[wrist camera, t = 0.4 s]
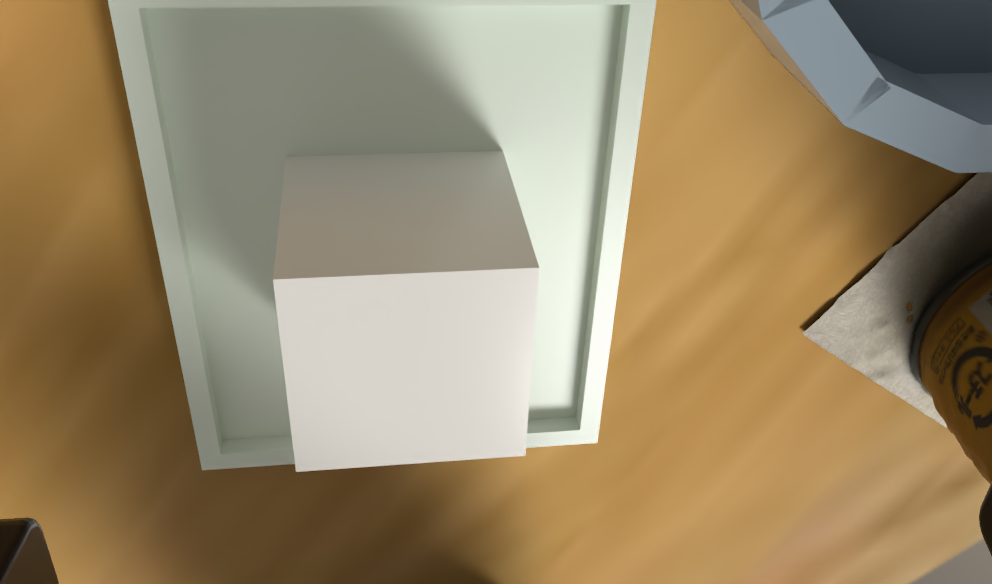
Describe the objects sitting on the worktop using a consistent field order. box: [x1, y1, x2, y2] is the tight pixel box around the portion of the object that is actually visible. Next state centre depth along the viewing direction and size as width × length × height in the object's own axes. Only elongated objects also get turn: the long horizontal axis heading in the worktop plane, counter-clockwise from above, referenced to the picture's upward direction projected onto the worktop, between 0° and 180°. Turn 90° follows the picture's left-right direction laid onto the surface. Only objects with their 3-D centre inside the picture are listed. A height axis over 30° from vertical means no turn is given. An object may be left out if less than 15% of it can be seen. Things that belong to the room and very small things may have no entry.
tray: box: [108, 0, 656, 470], centre depth 21 cm, size 12×10×1 cm
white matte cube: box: [273, 151, 539, 472], centre depth 19 cm, size 4×4×4 cm
